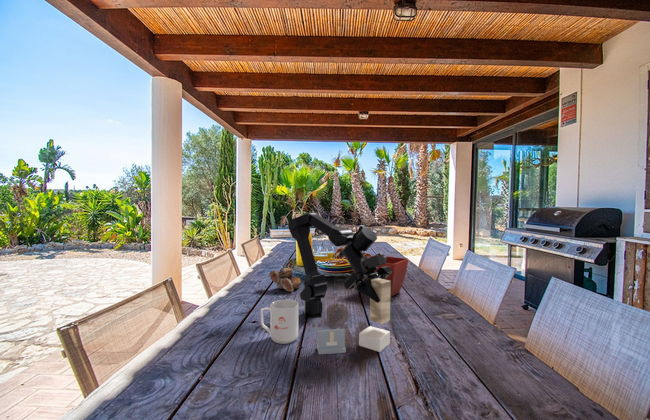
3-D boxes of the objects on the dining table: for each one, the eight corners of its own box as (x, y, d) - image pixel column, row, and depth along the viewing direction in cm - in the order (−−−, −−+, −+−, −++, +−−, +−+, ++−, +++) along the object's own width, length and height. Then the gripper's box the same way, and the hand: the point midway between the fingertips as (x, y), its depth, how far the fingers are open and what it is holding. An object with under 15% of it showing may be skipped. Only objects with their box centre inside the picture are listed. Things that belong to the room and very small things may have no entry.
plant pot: (374, 285, 162) (374, 254, 162) (408, 292, 151) (409, 258, 151) (356, 293, 146) (356, 259, 146) (393, 301, 135) (393, 264, 135)
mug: (299, 333, 100) (299, 299, 100) (296, 345, 92) (297, 308, 91) (263, 332, 101) (263, 299, 100) (257, 344, 92) (257, 308, 92)
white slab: (359, 346, 92) (359, 333, 92) (369, 338, 98) (369, 325, 98) (379, 352, 88) (380, 339, 88) (389, 344, 94) (390, 331, 93)
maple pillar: (369, 320, 94) (370, 280, 94) (378, 316, 97) (379, 278, 97) (381, 324, 91) (382, 283, 91) (390, 320, 94) (390, 280, 94)
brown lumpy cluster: (267, 273, 159) (269, 270, 145) (296, 265, 164) (300, 261, 150) (273, 298, 156) (276, 297, 142) (302, 289, 161) (308, 287, 147)
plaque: (318, 354, 86) (318, 333, 86) (316, 347, 90) (317, 328, 90) (345, 352, 87) (346, 332, 87) (342, 346, 91) (343, 326, 91)
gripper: (351, 247, 90) (380, 291, 83) (387, 242, 103) (416, 280, 95) (332, 269, 96) (358, 312, 88) (369, 262, 109) (394, 299, 101)
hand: (383, 300), depth 93 cm, fingers closed on maple pillar, 4 cm apart
